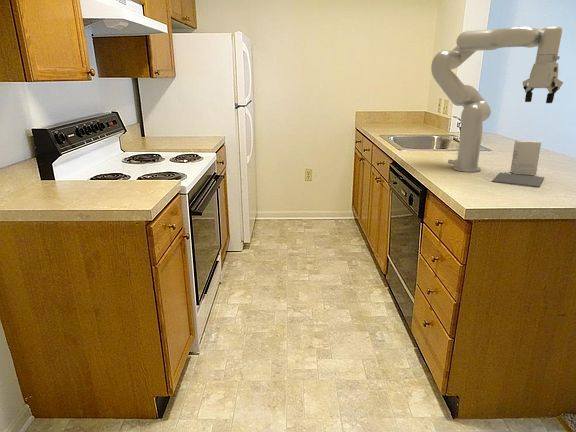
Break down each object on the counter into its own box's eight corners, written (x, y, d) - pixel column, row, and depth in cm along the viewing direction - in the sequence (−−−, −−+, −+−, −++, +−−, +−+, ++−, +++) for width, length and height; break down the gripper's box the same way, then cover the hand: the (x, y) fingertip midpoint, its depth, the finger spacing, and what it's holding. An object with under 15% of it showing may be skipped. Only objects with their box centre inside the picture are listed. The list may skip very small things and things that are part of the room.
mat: (491, 181, 179) (491, 180, 179) (499, 173, 194) (499, 172, 194) (539, 187, 169) (539, 186, 169) (543, 178, 184) (544, 177, 184)
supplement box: (530, 172, 196) (536, 140, 192) (536, 175, 187) (542, 142, 183) (509, 171, 198) (514, 139, 194) (514, 174, 189) (519, 141, 186)
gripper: (573, 59, 164) (563, 103, 170) (533, 60, 179) (526, 101, 185) (560, 58, 161) (551, 104, 167) (521, 60, 176) (514, 101, 182)
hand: (538, 102), depth 176 cm, fingers open, 9 cm apart
